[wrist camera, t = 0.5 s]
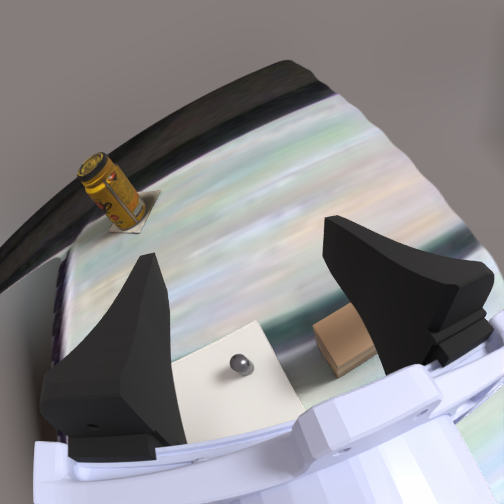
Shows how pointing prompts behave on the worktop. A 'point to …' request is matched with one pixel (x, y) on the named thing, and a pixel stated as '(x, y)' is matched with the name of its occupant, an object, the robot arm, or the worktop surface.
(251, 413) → the plate
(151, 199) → the condiment
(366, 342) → the walnut block
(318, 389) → the worktop surface
